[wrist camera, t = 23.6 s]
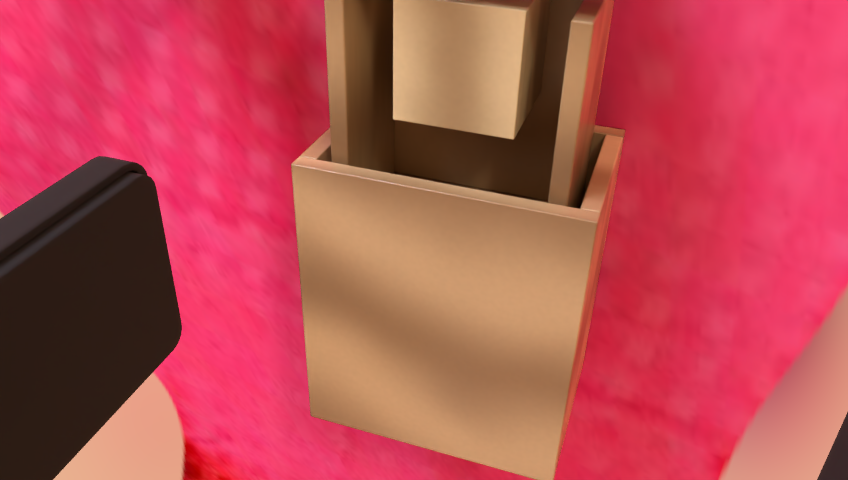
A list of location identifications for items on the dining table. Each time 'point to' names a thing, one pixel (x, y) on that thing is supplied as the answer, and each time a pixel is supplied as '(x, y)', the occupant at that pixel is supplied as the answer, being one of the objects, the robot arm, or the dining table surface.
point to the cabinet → (449, 306)
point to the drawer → (457, 150)
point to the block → (468, 63)
